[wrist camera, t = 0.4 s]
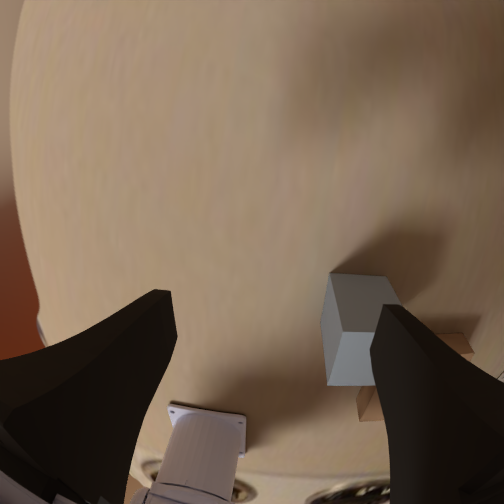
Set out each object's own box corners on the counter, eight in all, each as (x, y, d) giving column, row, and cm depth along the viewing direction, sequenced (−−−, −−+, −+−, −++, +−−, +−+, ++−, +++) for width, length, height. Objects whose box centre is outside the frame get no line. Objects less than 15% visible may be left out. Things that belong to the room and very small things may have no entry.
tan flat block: (427, 392, 23) (435, 414, 21) (355, 396, 24) (359, 421, 21) (460, 330, 20) (474, 352, 17) (380, 331, 21) (389, 358, 18)
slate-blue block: (372, 324, 20) (392, 384, 15) (320, 322, 21) (327, 385, 15) (386, 276, 19) (415, 332, 13) (329, 272, 19) (342, 331, 13)
